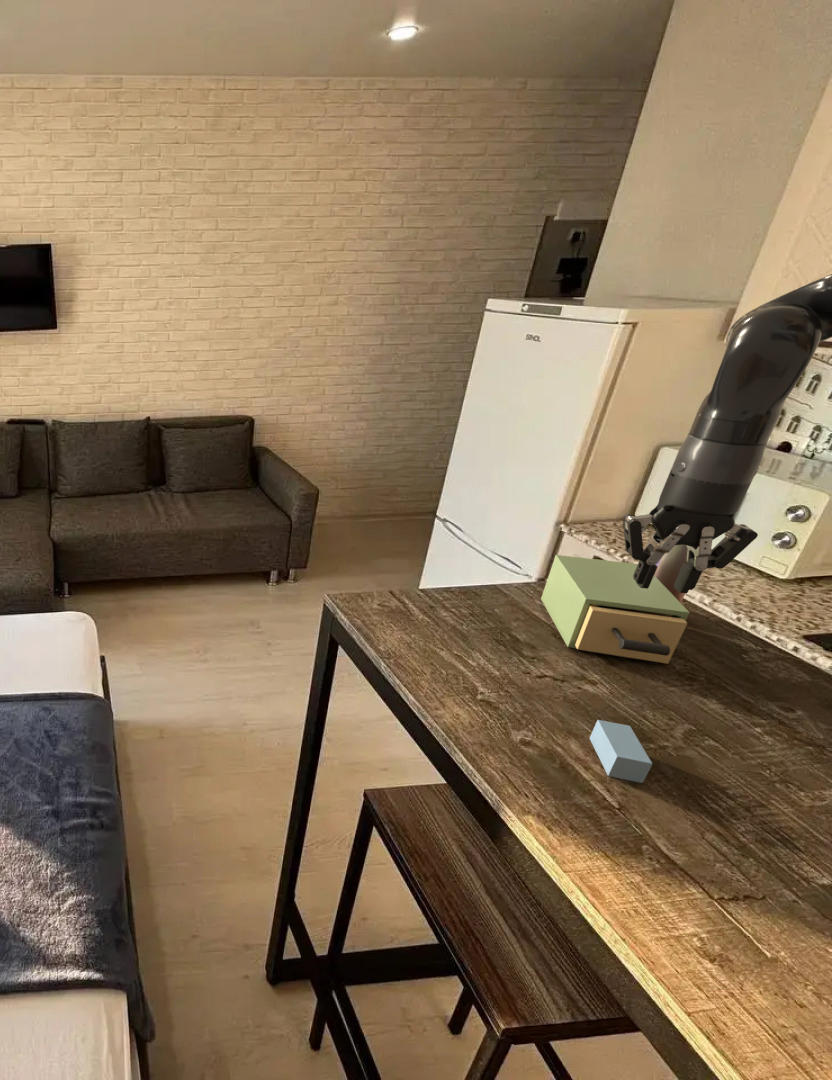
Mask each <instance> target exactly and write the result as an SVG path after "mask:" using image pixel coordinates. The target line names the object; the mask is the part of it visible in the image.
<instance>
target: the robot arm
mask: <svg viewBox="0 0 832 1080" xmlns="http://www.w3.org/2000/svg"><path fill="white" fill-rule="evenodd" d="M831 338H832V273H831V274H828V275H825V276H823V277H821V278H819V279H816V280H814V281H812V282H809V283H807V284H804V285H803V286H800V287H798V288H795V289H793V290H790V291H789V292H786V293H784V294H782V295H780V296H778V297H776V298H774V299H771V300H769V301H767V302H765V303H762V304H761V305H759V306H757V307H755V308H753V309H752V310H750V311H748V312H746V313H745V314H743V315H742V316H740V317H739V318H738V319H737V320H736V321H735V322H733V324H732V325H731V327H730V328H729V330H728V332H727V334H726V339H725V346H726V348H725V350H724V354H723V357H722V360H721V362H720V365H719V367H718V370H717V372H716V375H715V378H714V381H713V384H712V387H711V389H710V391H709V392H708V393H707V394H706V395H705V396H704V398H703V400H702V401H701V403H700V405H699V407H698V409H697V411H696V414H695V416H694V418H693V421H692V424H691V426H690V429H689V431H688V433H687V436H686V437H685V439H684V440H683V442H682V444H681V445H680V447H679V449H678V451H677V454H676V456H675V458H674V461H673V464H672V466H671V468H670V471H669V473H668V475H667V478H666V480H665V482H664V485H663V488H662V490H661V493H660V495H659V498H658V502H657V504H656V506H655V507H653V509H651V510H650V511H649V513H647V514H642V515H635V516H634V515H633V514H630V513H627V514H625V515H624V516H623V517H622V527H623V528H622V529H623V538H624V548H625V551H626V553H628V554H629V555H630V556H631V558H632V559H633V560H636V561H638V563H637V564H638V565H637V567H636V570H635V572H634V575H633V579H634V580H635V581H636V583H637V584H638V586H639V587H640V588H646V589H648V588H649V586H650V583H651V581H652V579H653V576H654V574H655V572H656V569H657V566H656V564H657V563H658V562H659V560H660V559H661V558H662V557H663V555H664V554H665V553H668V552H670V550H671V549H672V548H673V547H674V546H675V545H686V546H687V549H688V551H687V562H688V563H687V564H686V563H683V566H682V568H681V570H680V572H679V574H678V577H677V579H676V581H675V583H674V588H675V589H676V590H677V591H678V592H679V593H685V594H688V593H689V591H693V590H694V589H695V588H696V586H697V584H698V582H699V580H700V578H701V575H702V573H703V572H704V571H706V570H708V569H714V568H716V569H718V570H721V569H724V568H726V567H727V566H728V565H729V564H730V563H732V561H733V560H734V559H736V557H738V556H739V555H740V554H741V553H742V552H743V551H744V550H745V549H746V548H747V547H749V545H750V544H752V543H753V542H754V541H755V540H756V539H757V538H758V536H759V534H758V533H757V532H756V531H755V530H754V529H752V528H750V527H749V526H747V525H746V524H744V523H742V524H741V523H740V524H738V523H737V522H736V521H735V514H736V513H737V512H739V510H740V508H741V506H742V503H743V501H744V499H745V497H746V496H747V495H746V494H747V493H748V491H749V489H750V486H751V484H752V482H753V480H754V478H755V476H756V475H757V474H758V471H759V468H760V465H761V463H762V460H763V458H764V453H765V450H766V448H767V447H766V446H767V444H768V442H769V439H770V438H771V435H772V432H773V431H774V430H775V427H776V425H777V423H778V421H779V418H780V417H781V413H782V411H783V407H784V405H785V403H786V401H787V399H788V397H789V395H791V393H792V391H793V390H794V388H795V387H796V385H797V383H798V382H799V380H800V378H802V376H803V374H804V373H805V371H806V369H807V368H808V366H809V364H810V362H811V360H812V359H813V357H814V355H815V353H816V351H817V349H818V347H819V344H820V343H822V342H824V341H827V340H829V339H831ZM650 524H651V525H652V526H653V529H654V531H653V532H652V533H651V535H650V536H649V537H648V539H647V543H646V545H643V544H644V543H643V542H644V541H643V533H644V532H646V530H648V529H647V528H648V525H650ZM722 535H724V537H723V538H722V539H720V541H719V542H718V543H717V544H716V545H715V546H714V547H713V541H714V540H715V539H717V538H719V537H720V536H722Z"/></svg>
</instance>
